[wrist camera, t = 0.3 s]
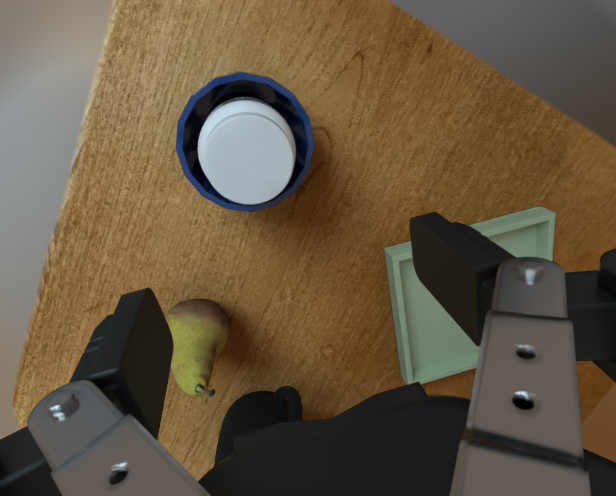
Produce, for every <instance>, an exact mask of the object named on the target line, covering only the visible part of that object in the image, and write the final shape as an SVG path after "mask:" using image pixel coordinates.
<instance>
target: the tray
mask: <svg viewBox="0 0 616 496" xmlns="http://www.w3.org/2000/svg"><path fill="white" fill-rule="evenodd" d="M468 226H471V227H473V228H474V229H476V230H477V231H478V232H480V233H481V234H482V235H484V236H486V237H487V238H489V239H490V241H493V242H495V243H496V244H497V245H499V246H500V247H502V248H503V249H505V250H506V251H508V252H509V253H511V254H512V255H514V256H515V257H516V258H517V257H538V258H543V259H547V260H550V261H552V258H553V243H554V228H555V212H553V211H550V210H548V209H546V208H543V207H541V206H538V207H534V208H531V209H527V210H523V211H520V212H516V213H512V214H509V215H505V216H501V217H497V218H494V219H490V220H486V221H483V222H479V223H475V224H472V225H468ZM384 253H385V260H386V267H387V275H388V282H389V289H390V297H391V304H392V311H393V319H394V326H395V333H396V341H397V348H398V355H399V363H400V370H401V375H402V377H403V379H404V381H405V382H406V384H407V385H408V384H412V383H415V382H418V381H419V382H420V384H424V383H427V382H430V381H434V380H437V379H440V378H444V377H447V376H450V375H454V374H457V373H460V372H464V371H467V370H470V369H474V368H477V362H478V357H479V351H480V346H478V347H477V346H476V345H475V344H474V342H473V341H472V340H471V339H470V338H469V337H468V336H467V334H466V333H465V332H464V331H463V330H462V329H461V328H460V326H459V325H458V324H457V323H456V322H455V321H454V320H453V318H452V317H451V316H450V315H449V314H448V313H447V312H446V310H445V309H444V308H443V307H442V306H441V305H440V304H439V302H438V301H437V300H436V299H435V298H434V297H433V295H432V294H431V293H430V292H429V291H428V290H427V289H426V287H425V286H424V285H423V284H422V283H421V282H420V280H419V279H418V277H417V275H416V272H415V269H414V265H413V256H412V246H411V241H409V242H405V243H401V244H398V245H394V246H390V247H386V248H384Z"/></svg>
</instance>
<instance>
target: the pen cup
mask: <svg viewBox="0 0 616 496" xmlns="http://www.w3.org/2000/svg"><path fill="white" fill-rule="evenodd" d="M238 94H247V95H252V96H256V97H258V98H260V99H262V100H264V101H266V102H267V103H268V104H269V105H271V106H272V107H273V108H274V109H275V110H276V111H277V112H278V113H279V114H280V115H281V116H282V117H283V118H284V120H285V121H286V122H287V124H288V125H289V127H290V129H291V132H292V134H293V137H294V141H295V147H296V157H295V163H294V167H293V172H292V176H291V178H290V180H289V182H288V184H287V186H286V187H285V188H284V189H283V191H282V192H281V193H279V194H278V195H277V196H276V197H274V198H273V199H271V200H269V201H267V202H264V203H260V204H254V205H247V204H239V203H236V202H233V201H231V200H229V199H227V198H225V197H224V196H222V195H221V194H220V193H219V192H218V191H217V190H216V189H215V188H214V187H213V186H212V184H211V183H210V181H209V180H208V178H207V177H206V175H205V173H204V172H203V170H202V167H201V164H200V161H199V157H198V140H199V135H200V132H201V129H202V127H203V125H204V123H205V121H206V119H207V116H208V114H209V113H210V111H211V110H212V109H213V107H214V106H215V105H216V104H217V103H218V102H220V101H221V100H223V99H225V98H227V97H229V96H233V95H238ZM313 148H314V140H313V135H312V130H311V125H310V120H309V117H308V115H307V114H306V112H305V110H304V109H303V107H302V106H301V104H300V103H299V101H298V100H297V98H296V97H295V95H294V94H293V93H292V92H290V91H289V90H287V89H286V88H284V87H283V86H281V85H280V84H279V83H277V82H276V81H274V80H273V79H271V78H269V77H265V76H261V75H256V74H251V73H246V72H241V71H240V72H239V71H238V72H234V73H229V74H225V75H221V76H216V77H215V78H213V79H212V80H211V81H210V82H208V83H207V84H206V85H204V86H203V87H202V88H200V89H199V90H198V91H197V92H195V93H194V94H193V95H192V96H191V97H190V99H189V101H188V103H187V104H186V106H185V108H184V110H183V112H182V114H181V116H180V118H179V120H178V124H177V140H176V151H177V154H178V157H179V160H180V163H181V166H182V169H183V172H184V175H185V177H186V178H187V179H188V180H189V181H190V182H191V183H192V185H193V186H194V187H195V188H196V189H197V190H198V192H199V193H200V194H201V195H202V196H203V197H205V198H207V199H209V200H210V201H212V202H214V203H216V204H218V205H220V206H222V207H224V208H226V209H232V210H240V211H248V212H253V211H257V210H261V209H264V208H268V207H272V206H275V205H277V204H279V203H280V202H281V201H283V200H284V199H286V198H287V197H288V196H290V195H291V194H292V193H294V192H295V191H296V190H297V188H298V187H299V185H300V184H301V182H302V181H303V179H304V177H305V176H306V174H307V173H308V171H309V169H310V164H311V159H312V153H313Z"/></svg>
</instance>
